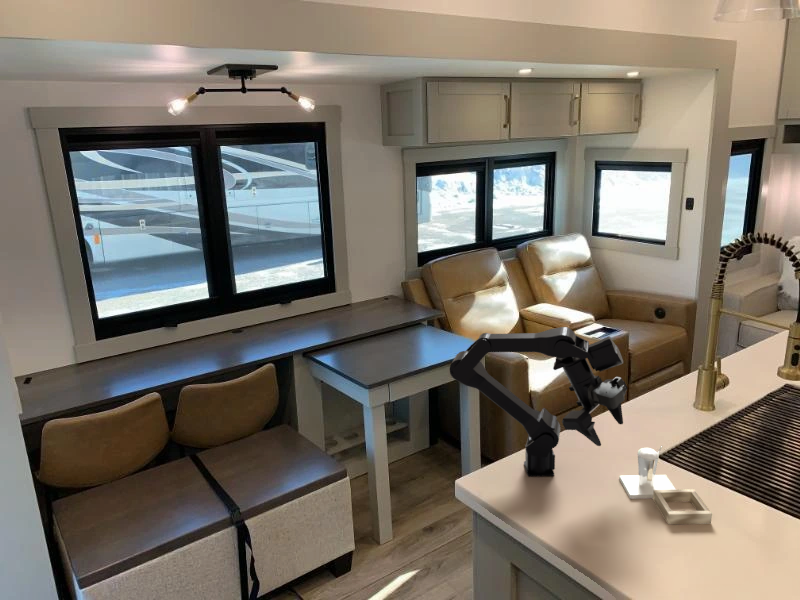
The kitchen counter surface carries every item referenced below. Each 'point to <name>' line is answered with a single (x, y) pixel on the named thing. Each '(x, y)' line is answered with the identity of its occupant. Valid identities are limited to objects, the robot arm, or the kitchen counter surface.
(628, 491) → the pad
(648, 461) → the milkshake
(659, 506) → the holder
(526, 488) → the kitchen counter surface
